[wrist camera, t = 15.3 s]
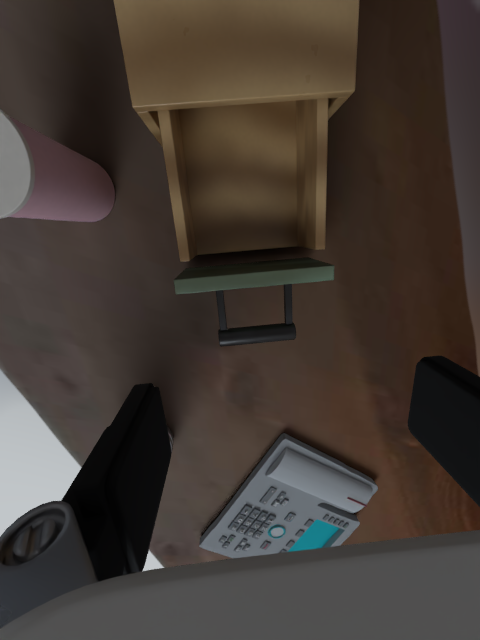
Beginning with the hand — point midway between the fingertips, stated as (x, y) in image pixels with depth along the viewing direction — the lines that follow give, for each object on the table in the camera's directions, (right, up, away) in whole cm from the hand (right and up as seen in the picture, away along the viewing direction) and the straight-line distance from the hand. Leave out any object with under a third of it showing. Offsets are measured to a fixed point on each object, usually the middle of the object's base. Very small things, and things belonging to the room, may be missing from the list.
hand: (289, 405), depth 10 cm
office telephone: (+6, -26, +31) cm, 41 cm away
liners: (-17, +15, +16) cm, 28 cm away
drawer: (-1, +13, +17) cm, 21 cm away
